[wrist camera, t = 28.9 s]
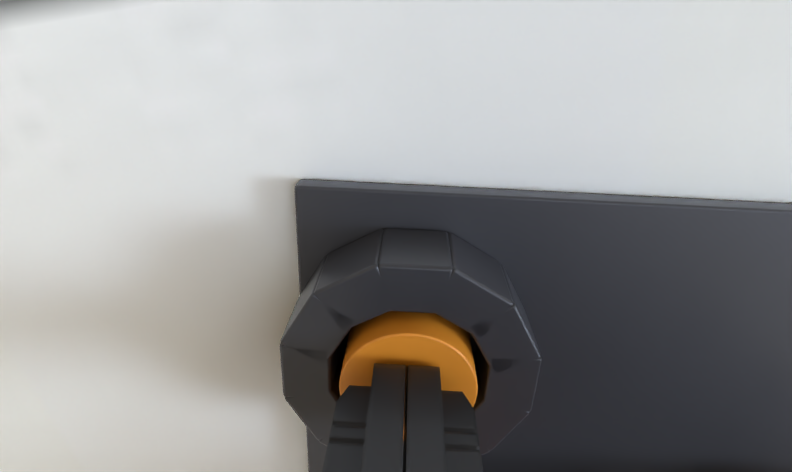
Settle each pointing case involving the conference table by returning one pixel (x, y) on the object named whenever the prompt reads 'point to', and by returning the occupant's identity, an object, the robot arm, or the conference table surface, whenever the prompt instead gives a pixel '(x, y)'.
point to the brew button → (410, 350)
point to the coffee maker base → (563, 319)
